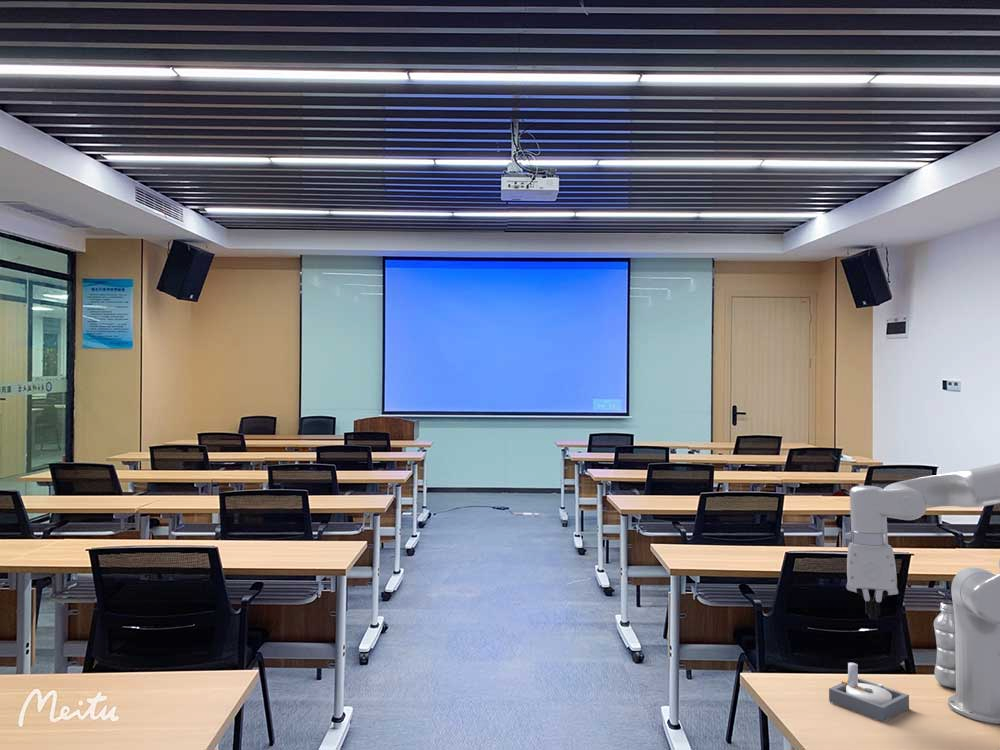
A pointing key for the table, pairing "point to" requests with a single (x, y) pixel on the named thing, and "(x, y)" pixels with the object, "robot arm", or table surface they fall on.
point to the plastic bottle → (945, 646)
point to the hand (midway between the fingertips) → (873, 617)
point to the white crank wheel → (865, 688)
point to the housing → (866, 707)
